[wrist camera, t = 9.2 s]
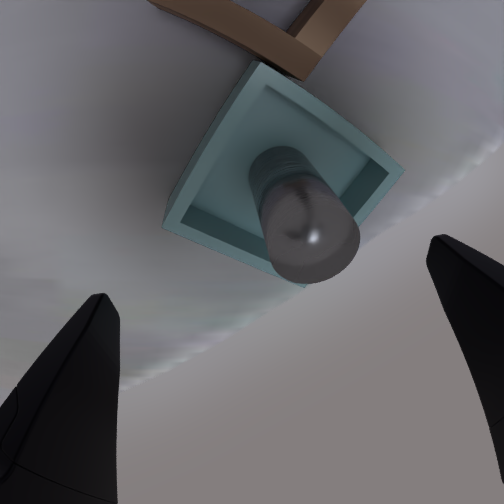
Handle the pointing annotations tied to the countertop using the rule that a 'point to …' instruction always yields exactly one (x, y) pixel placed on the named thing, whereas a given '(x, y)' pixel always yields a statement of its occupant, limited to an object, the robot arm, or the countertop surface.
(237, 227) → the tray
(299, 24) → the block
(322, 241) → the translucent grey cylinder
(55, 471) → the robot arm
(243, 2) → the countertop surface
